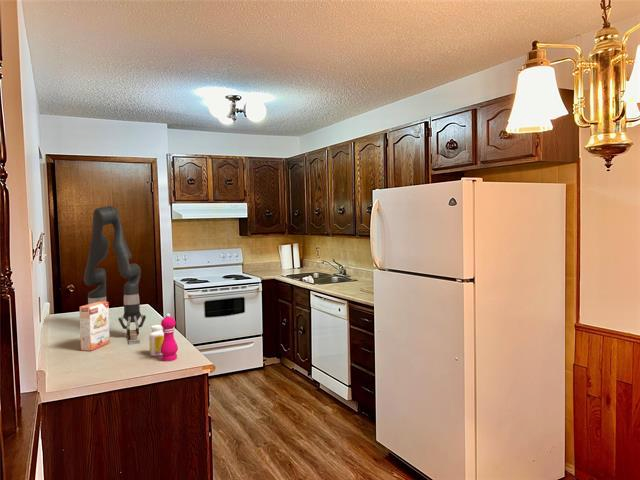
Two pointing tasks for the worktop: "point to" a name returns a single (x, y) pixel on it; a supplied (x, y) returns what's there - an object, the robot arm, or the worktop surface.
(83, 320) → the cracker box
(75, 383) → the worktop surface
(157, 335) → the supplement bottle
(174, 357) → the pepper mill
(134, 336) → the tan flat bar
